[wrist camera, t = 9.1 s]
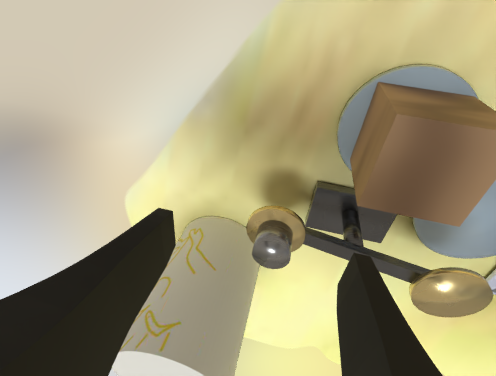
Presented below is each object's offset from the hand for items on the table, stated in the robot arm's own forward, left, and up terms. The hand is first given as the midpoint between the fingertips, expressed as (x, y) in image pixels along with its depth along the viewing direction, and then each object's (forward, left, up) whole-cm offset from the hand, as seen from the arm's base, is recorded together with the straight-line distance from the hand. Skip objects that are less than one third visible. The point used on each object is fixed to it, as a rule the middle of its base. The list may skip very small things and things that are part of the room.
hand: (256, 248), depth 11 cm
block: (-7, -2, -10) cm, 12 cm away
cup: (+4, +13, -11) cm, 17 cm away
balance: (-6, +5, -10) cm, 13 cm away
